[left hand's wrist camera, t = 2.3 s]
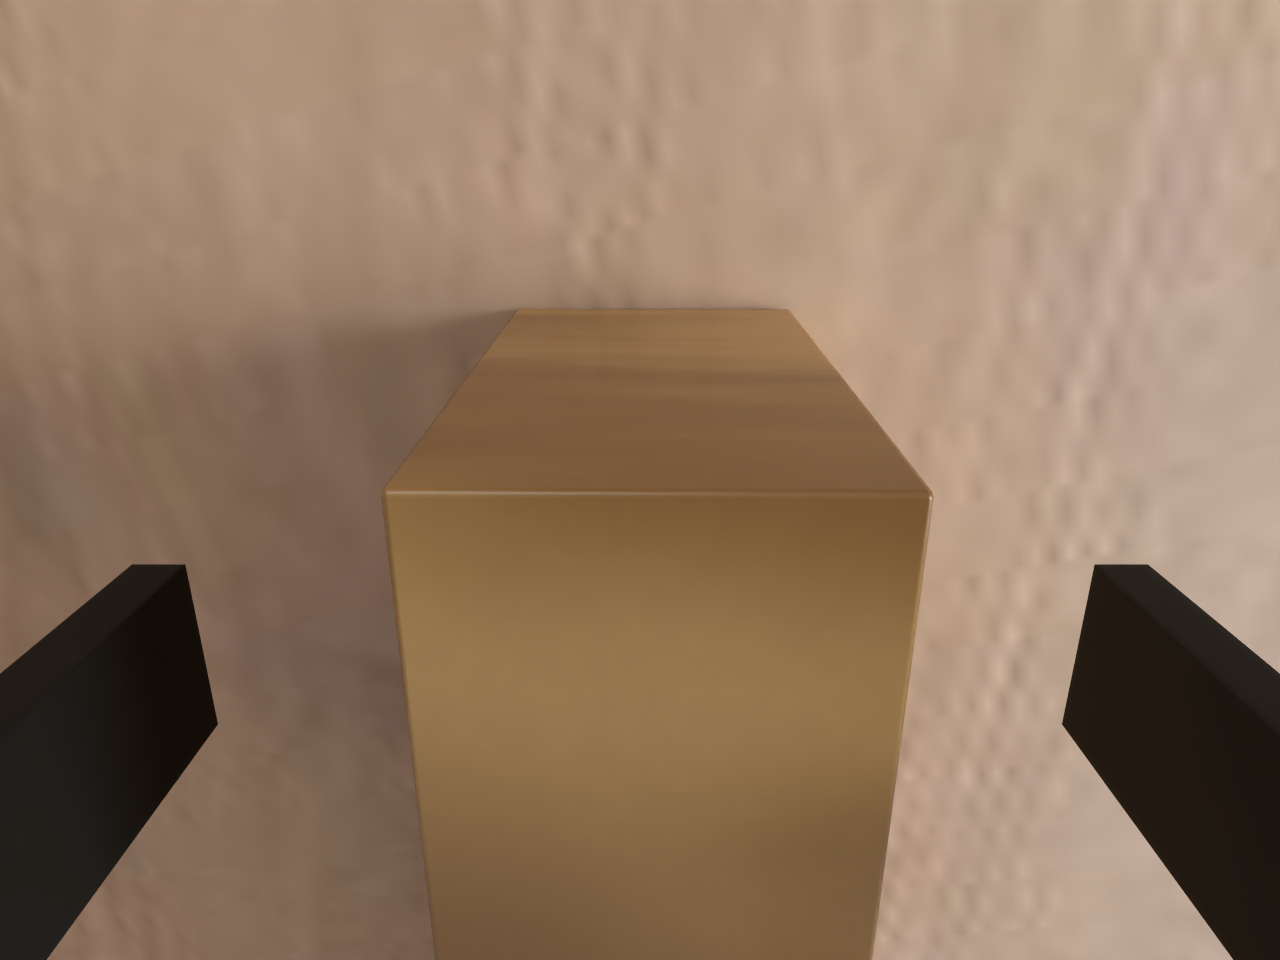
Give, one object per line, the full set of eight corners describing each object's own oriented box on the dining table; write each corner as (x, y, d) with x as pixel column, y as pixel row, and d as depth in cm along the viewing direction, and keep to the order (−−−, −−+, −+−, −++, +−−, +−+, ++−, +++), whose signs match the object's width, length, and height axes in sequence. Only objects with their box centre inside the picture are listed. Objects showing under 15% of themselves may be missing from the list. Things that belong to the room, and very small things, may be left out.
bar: (516, 308, 16) (377, 491, 8) (790, 309, 16) (937, 492, 8) (556, 1100, 24) (508, 1600, 16) (741, 1102, 24) (788, 1605, 16)
